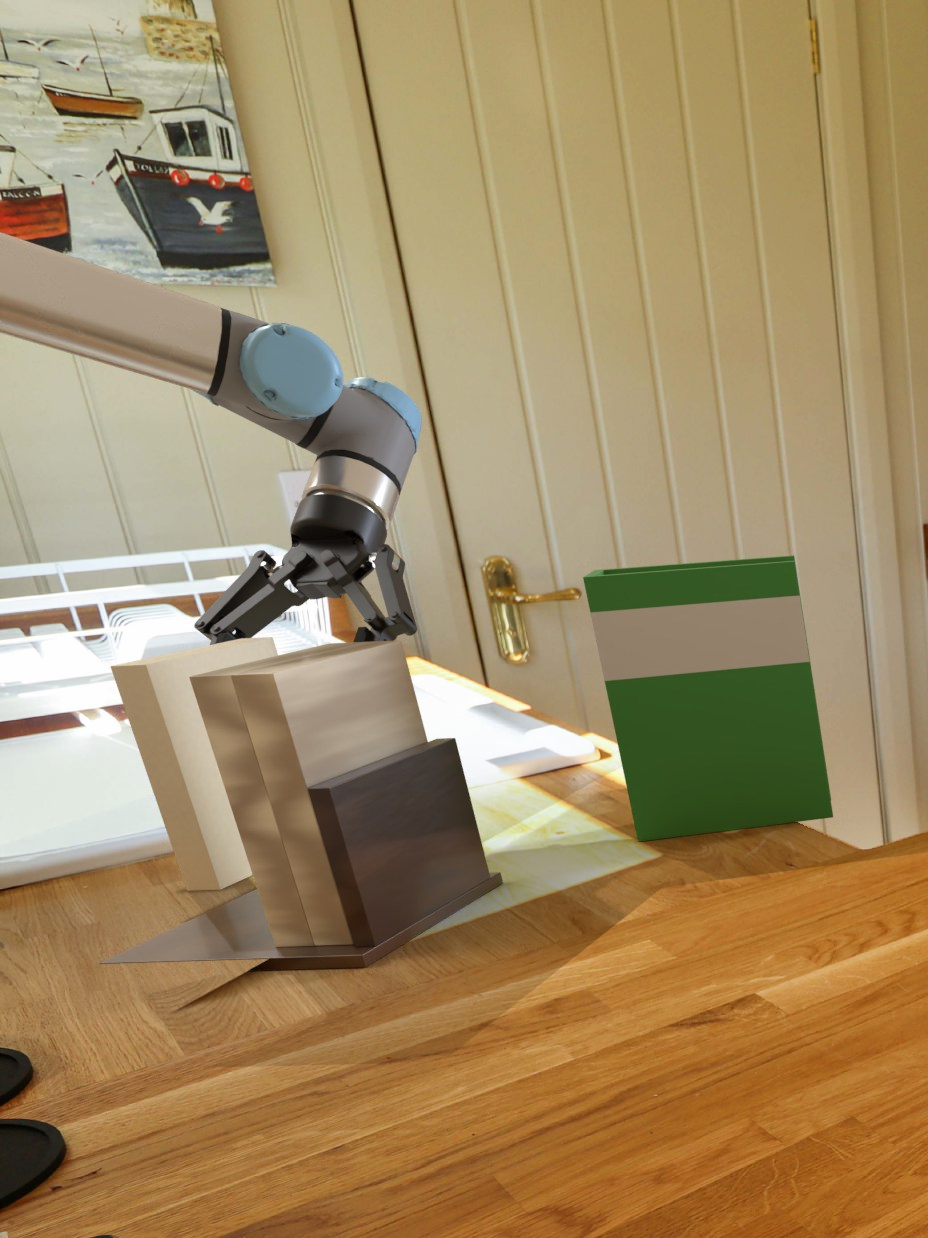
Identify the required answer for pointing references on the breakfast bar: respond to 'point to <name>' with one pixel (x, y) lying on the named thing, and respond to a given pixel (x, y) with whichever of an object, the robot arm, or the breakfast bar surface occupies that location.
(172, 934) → the book rack
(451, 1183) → the breakfast bar surface
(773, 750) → the hardback book
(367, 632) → the robot arm
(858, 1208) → the breakfast bar surface
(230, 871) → the thin cream book
